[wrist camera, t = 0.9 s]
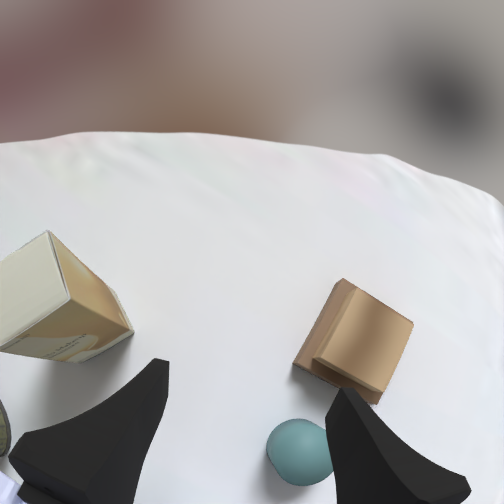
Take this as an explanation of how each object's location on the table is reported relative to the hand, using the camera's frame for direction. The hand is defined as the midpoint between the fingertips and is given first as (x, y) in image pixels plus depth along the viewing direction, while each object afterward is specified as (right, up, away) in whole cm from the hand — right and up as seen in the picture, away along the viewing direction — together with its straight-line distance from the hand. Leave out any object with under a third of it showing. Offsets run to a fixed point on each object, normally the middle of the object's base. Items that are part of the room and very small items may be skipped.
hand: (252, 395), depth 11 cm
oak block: (+9, -1, +11) cm, 14 cm away
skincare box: (-13, -1, +11) cm, 17 cm away
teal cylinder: (+4, -10, +9) cm, 14 cm away
